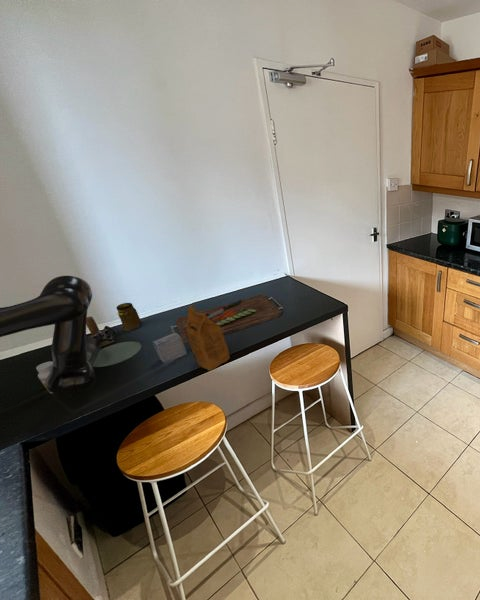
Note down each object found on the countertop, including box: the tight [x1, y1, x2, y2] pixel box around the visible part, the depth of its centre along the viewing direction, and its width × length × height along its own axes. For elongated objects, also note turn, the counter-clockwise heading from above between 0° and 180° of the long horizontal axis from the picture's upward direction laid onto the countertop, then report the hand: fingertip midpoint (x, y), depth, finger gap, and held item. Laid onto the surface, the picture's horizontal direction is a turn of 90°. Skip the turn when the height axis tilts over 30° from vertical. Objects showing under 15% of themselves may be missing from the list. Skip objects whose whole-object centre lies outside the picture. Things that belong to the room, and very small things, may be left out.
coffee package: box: [187, 305, 231, 371], centre depth 113 cm, size 10×12×22 cm
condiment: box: [116, 302, 144, 332], centre depth 135 cm, size 7×8×12 cm
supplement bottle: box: [35, 360, 53, 394], centre depth 102 cm, size 5×5×10 cm
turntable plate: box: [93, 341, 142, 368], centre depth 120 cm, size 16×16×1 cm
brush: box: [86, 316, 116, 350], centre depth 122 cm, size 7×3×14 cm, turn 151°
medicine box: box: [151, 332, 188, 365], centre depth 117 cm, size 8×4×9 cm, turn 145°
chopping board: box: [169, 294, 285, 345], centre depth 145 cm, size 45×27×3 cm, turn 130°
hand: (93, 331), depth 120 cm, fingers open, 8 cm apart
